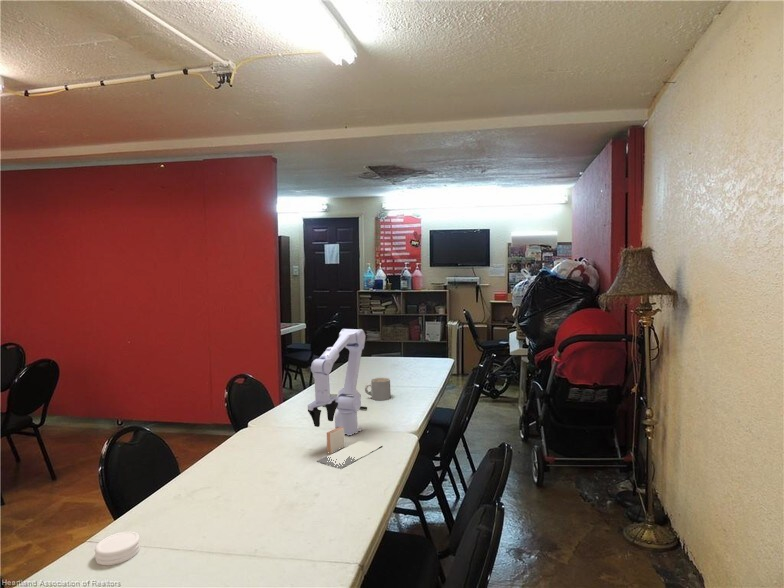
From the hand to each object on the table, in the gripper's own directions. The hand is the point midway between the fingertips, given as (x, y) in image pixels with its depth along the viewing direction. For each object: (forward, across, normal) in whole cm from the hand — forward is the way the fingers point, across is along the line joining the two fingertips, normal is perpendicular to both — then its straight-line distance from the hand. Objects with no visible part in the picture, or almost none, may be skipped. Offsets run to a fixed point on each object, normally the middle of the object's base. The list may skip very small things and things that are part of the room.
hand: (323, 423), depth 189 cm
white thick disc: (+10, -80, -5) cm, 81 cm away
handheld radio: (+10, +43, +28) cm, 52 cm away
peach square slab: (+10, 0, -6) cm, 11 cm away
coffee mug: (+10, +65, +24) cm, 70 cm away
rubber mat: (+9, 0, -14) cm, 16 cm away
